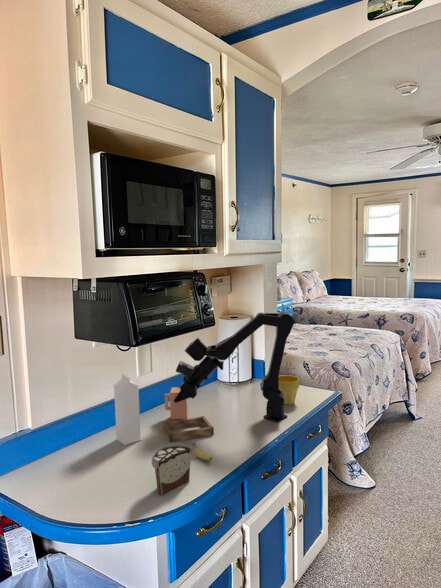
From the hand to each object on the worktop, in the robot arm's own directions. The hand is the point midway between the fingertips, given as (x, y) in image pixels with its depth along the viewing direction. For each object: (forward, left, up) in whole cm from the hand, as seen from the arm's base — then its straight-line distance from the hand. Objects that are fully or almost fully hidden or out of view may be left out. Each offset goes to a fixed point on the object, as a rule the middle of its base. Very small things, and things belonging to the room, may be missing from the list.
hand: (175, 398), depth 163 cm
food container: (+31, +35, -8) cm, 47 cm away
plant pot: (-41, +20, -8) cm, 47 cm away
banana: (+15, +31, -8) cm, 35 cm away
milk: (+23, +3, -8) cm, 24 cm away
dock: (+5, +13, -7) cm, 15 cm away
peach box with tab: (0, 0, -7) cm, 7 cm away
